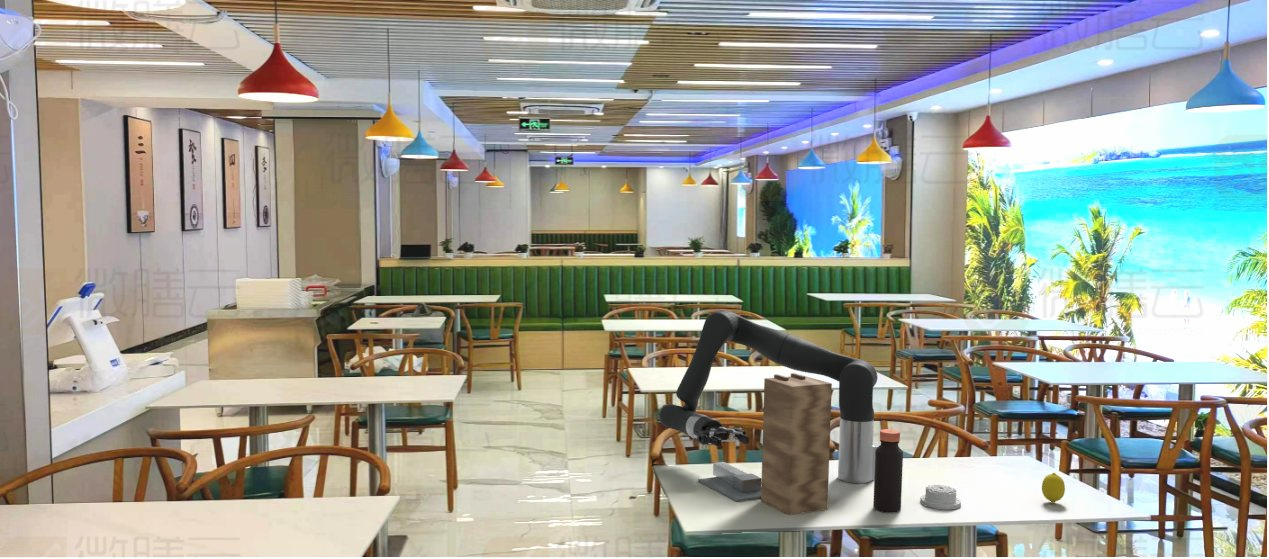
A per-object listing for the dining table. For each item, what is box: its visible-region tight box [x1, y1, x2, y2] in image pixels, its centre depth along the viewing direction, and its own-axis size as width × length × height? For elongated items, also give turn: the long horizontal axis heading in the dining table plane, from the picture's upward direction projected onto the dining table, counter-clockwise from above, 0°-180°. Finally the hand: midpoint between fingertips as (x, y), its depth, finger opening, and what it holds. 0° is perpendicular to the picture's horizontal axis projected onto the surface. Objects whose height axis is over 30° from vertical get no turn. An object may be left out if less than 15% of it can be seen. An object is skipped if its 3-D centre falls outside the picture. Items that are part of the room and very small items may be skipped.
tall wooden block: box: [760, 372, 833, 516], centre depth 243 cm, size 12×12×33 cm
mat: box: [697, 476, 761, 503], centre depth 258 cm, size 12×20×1 cm, turn 26°
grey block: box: [712, 461, 762, 493], centre depth 261 cm, size 6×18×3 cm, turn 24°
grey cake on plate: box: [919, 484, 962, 510], centre depth 248 cm, size 10×4×10 cm
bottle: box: [872, 428, 904, 514], centre depth 242 cm, size 7×7×20 cm
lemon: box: [1041, 472, 1066, 503], centre depth 250 cm, size 6×6×8 cm
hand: (734, 441), depth 260 cm, fingers open, 8 cm apart
